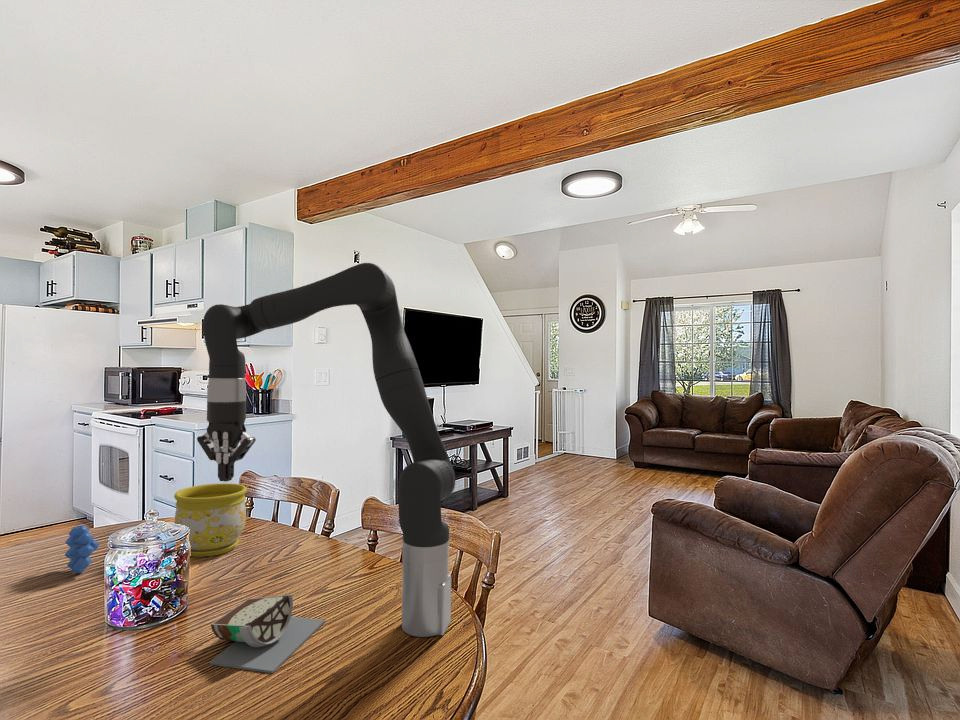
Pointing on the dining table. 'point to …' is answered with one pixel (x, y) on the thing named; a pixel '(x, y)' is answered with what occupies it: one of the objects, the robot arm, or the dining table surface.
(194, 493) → the flowerpot
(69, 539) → the grapes
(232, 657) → the mat
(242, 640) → the food container
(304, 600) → the dining table surface
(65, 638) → the dining table surface
